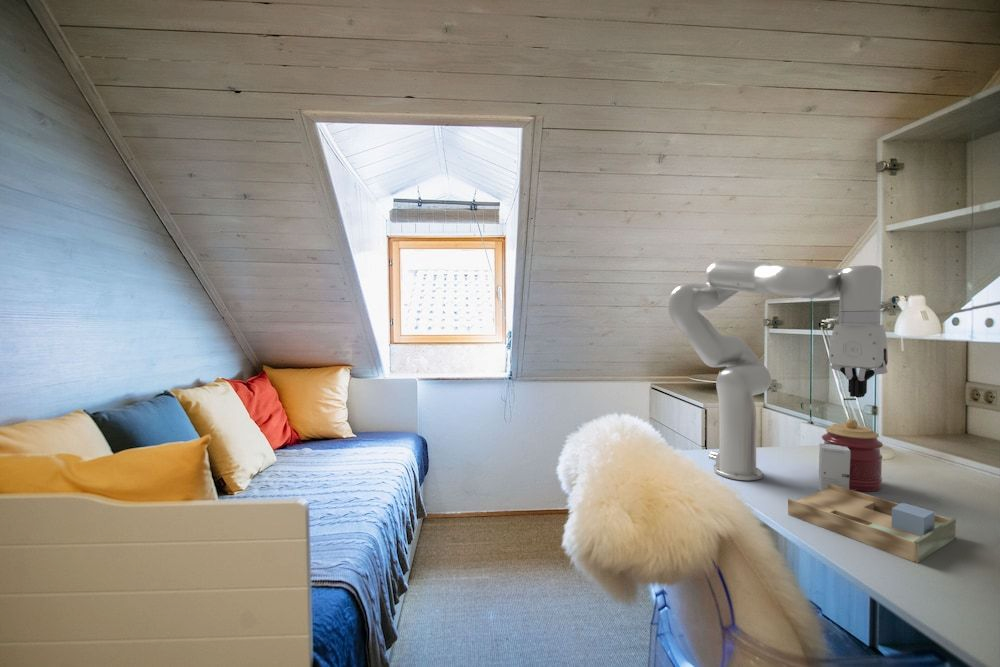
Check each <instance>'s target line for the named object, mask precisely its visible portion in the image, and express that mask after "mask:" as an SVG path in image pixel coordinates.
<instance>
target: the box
mask: <svg viewBox="0 0 1000 667" xmlns="http://www.w3.org/2000/svg"><path fill="white" fill-rule="evenodd" d="M899 504H900V503H897V502H894V501H890V500H887V499H885V498H880V497H877V496H873V495H871V494H867V493H863V492H861V491H857V490H850V489H847V488H843V487H840V486H837V485H833V484H830V483H828V489H825V490H822V491H820V490H819V491H818V492H815V493H813V494H810V495H808V496H804V497H802V498H800V499H797V500H795V499H792V498H787V515H788V514H789V515H788V516H792V517H793V516H794V518H796V517H797V519H799V520H801V519H802V521H805V522H807V523H809V522H810V524H813V525H815V526H817V527H820V528H823V529H825V530H828V531H831V532H833V531H834V533H836V532H837V534H839V535H841V534H842V535H841V536H844V535H845V536H844V537H847V536H848V537H847V538H849V537H851V538H850V539H852V538H853V539H852V540H854V539H856V540H855V541H857V540H859V541H858V542H860V541H861V542H860V543H862V542H863V544H865V543H866V544H865V545H869V546H870V545H871V547H873V546H874V548H876V549H878V548H879V550H881V551H883V552H887V553H889V554H892V555H895V556H897V557H899V558H902V559H905V560H908V561H911V562H914V563H916V564H918V563H920V562H921V561H923V560H924V559H926V558H927V557H929V556H930V555H932V554H933V553H935V552H937V550H940V549H941V548H942V547H944V546H946V545H947V544H949V543H950V542H952V541H953V540H955V539H956V524H957V520H956V518H953V517H952V518H948V517H945V516H941V515H940V514H939V515H938V514H935V520H934V530H932V531H930V532H929V533H927V534H925V535H924V536H922V537H919V536H917V535H914V534H911V533H908V532H905V531H902V530H899V529H896V528H893V527H891V526H892V508H893V507H895V506H897V505H899Z"/></svg>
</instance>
